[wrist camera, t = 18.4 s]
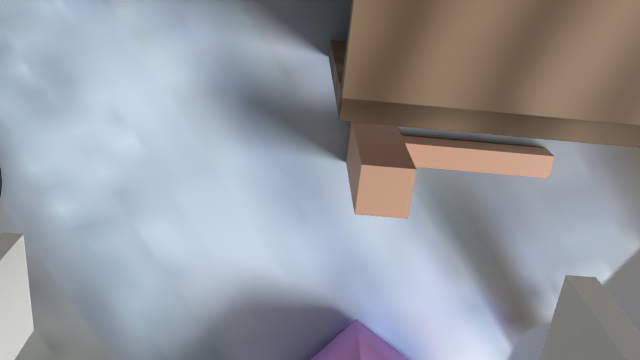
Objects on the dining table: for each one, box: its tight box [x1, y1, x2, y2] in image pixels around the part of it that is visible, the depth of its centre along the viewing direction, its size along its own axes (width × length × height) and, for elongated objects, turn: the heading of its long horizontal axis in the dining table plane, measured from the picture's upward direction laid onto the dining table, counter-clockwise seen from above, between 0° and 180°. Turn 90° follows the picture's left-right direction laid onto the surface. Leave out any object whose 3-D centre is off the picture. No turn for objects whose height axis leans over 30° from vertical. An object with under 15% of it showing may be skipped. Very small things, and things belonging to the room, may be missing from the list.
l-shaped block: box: [346, 122, 554, 219], centre depth 43 cm, size 16×4×9 cm, turn 84°
